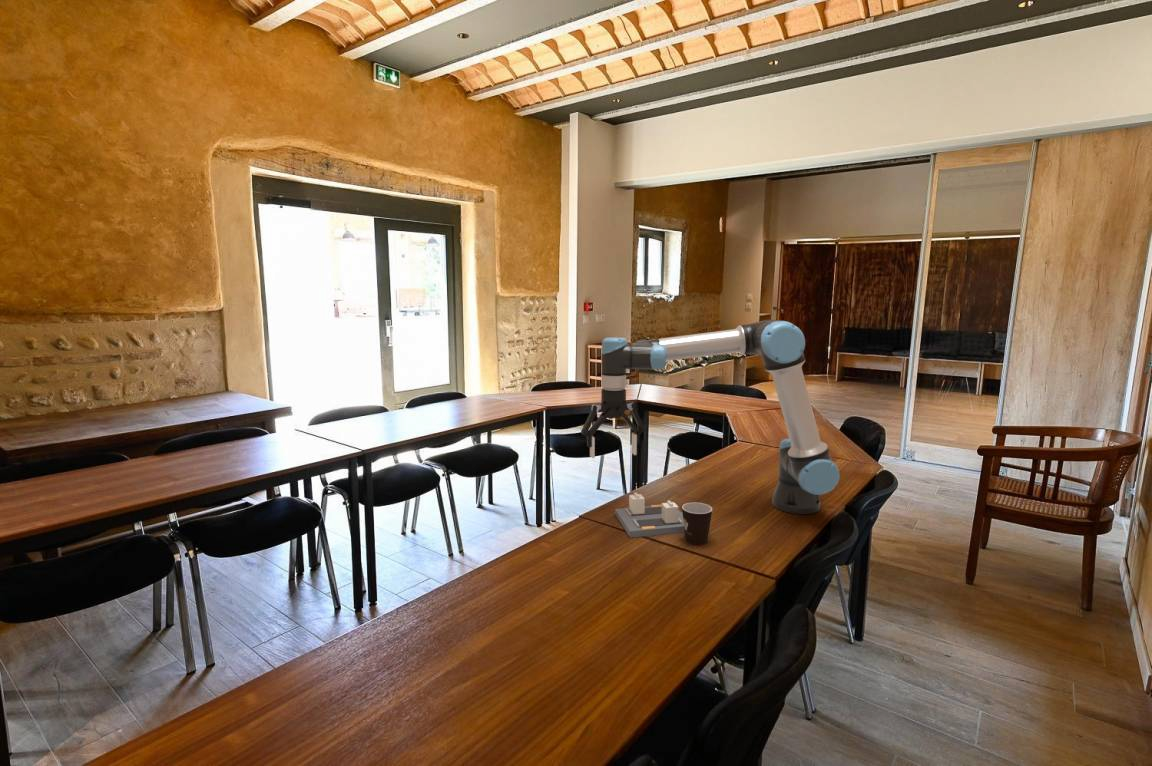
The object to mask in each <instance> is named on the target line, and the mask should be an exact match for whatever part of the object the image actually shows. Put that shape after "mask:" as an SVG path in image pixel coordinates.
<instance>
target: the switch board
mask: <svg viewBox="0 0 1152 766" xmlns="http://www.w3.org/2000/svg"><path fill="white" fill-rule="evenodd" d="M614 510H615V513H614V514H615V516H616V518H617V520H618V521H619V523H620V524H621V526H622V528H623V529H624V531H625V532H626V534H627V535H628V537H629V538H630V539H631V538H632V539H633V538H641V537H650V536H651V537H652V536H661V535H662V536H663V535H672V534H682V533H684V534H685V532H684V522H683V512H682V511H681V510H680V509H679V512H678V522H677V523H665V522H664V521H663V519H662V503H661V504H651V505H647V506H646V505H645V513H644V514H632V513H631V512H630V510H629V507H623V508H621V507H620V508H615V509H614Z"/></svg>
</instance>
